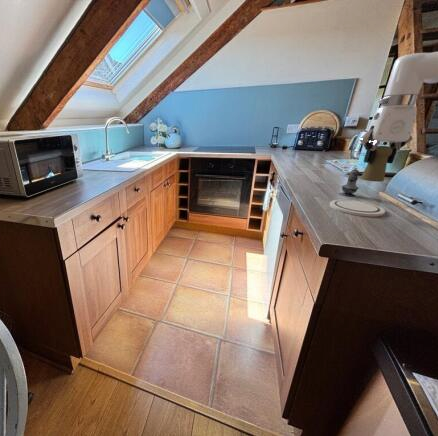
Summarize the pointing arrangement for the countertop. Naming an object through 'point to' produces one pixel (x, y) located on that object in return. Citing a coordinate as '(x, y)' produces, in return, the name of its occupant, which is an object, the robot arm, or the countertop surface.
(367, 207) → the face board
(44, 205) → the countertop surface
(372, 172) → the cork
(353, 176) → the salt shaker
